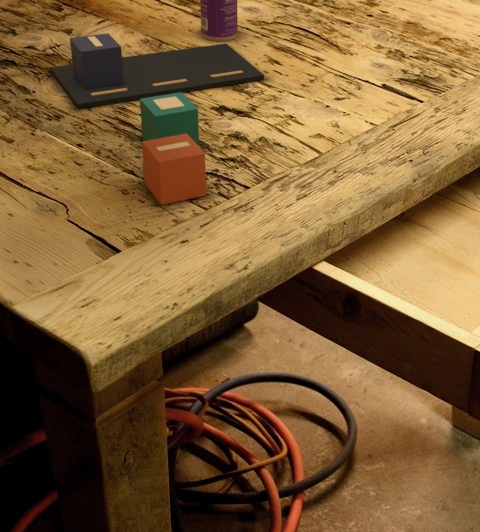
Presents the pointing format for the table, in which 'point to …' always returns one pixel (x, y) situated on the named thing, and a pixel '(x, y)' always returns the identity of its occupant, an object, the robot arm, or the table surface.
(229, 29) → the container
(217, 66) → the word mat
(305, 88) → the table surface
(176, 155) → the orange cube
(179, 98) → the green cube
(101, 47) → the striped navy gift box
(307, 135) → the table surface
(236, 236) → the table surface
